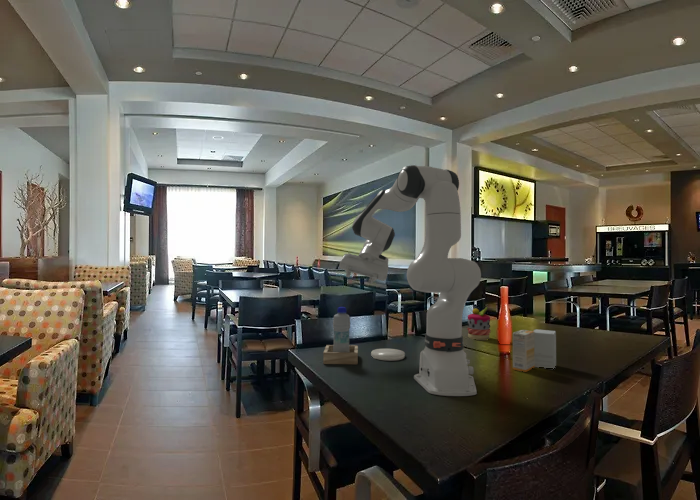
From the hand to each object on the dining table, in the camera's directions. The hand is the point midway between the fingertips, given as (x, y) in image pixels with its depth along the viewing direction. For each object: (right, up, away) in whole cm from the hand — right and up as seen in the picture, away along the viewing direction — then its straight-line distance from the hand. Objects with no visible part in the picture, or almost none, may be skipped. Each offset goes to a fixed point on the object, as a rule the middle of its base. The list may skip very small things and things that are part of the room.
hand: (358, 279), depth 160 cm
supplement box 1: (+58, -31, -18) cm, 68 cm away
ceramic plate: (+11, -30, -3) cm, 32 cm away
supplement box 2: (+67, -31, -15) cm, 75 cm away
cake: (+58, -31, +33) cm, 74 cm away
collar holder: (-7, -30, -8) cm, 32 cm away
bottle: (-7, -30, -8) cm, 32 cm away
